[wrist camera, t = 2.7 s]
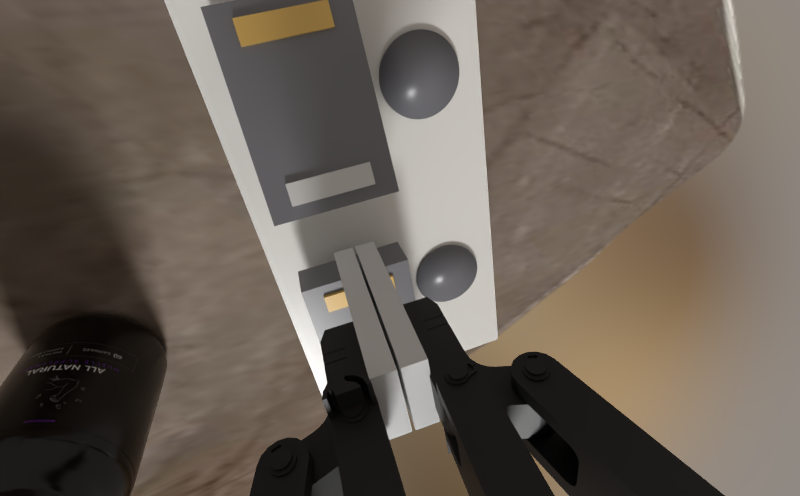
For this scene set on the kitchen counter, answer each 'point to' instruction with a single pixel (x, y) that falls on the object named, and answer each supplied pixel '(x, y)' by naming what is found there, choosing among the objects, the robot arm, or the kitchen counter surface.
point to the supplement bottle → (80, 409)
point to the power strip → (411, 157)
